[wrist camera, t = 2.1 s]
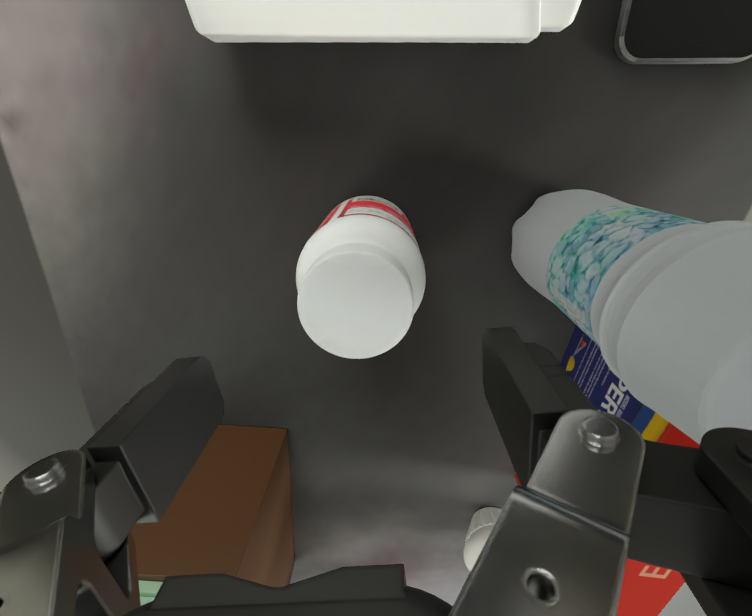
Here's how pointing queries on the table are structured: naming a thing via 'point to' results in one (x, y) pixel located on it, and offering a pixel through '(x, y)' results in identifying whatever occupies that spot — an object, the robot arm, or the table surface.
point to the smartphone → (684, 31)
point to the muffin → (479, 533)
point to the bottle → (650, 300)
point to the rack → (225, 515)
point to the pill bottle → (360, 279)
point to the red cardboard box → (609, 394)
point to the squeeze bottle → (380, 20)
